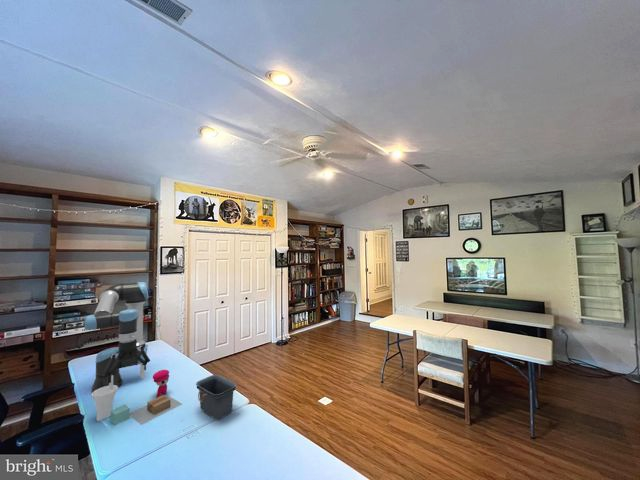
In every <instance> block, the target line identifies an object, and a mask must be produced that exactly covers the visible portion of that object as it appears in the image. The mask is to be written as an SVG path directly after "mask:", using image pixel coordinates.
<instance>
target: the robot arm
mask: <svg viewBox="0 0 640 480" xmlns="http://www.w3.org/2000/svg"><path fill="white" fill-rule="evenodd" d="M148 299H149V291H148V285H147V283H146V282H144V281H141V282H140V281H137V282H127V283H126V282H124V283H116V284H112V285H111V286H108V287H107V288H105V289H104V290H102V292H101V293H100V295H99V298H98V301H99V302H98V304H97V306H96V309H95V311H94V313H93V314H89V315H87V316H86V317H85V319H84V329H85V330H86V331H93V330H94V331H95V330H101V329H107V328H108V329H109V328H116V327H118V346H114V347H110V348H106V349H103V350H102V351H100V352H98V353H97V354H96V357H95V358H96V359H95V379H94V380H93V384H92V386H91V394H92V393H93V392H94V391H95V390H97V389H99V388H102V387H105V386H109V389H111V390H112V389H113V385H116V386H118V388H120V387H122V385H123V384H124V383H123V380H124V379H123V378H122V375H121V373H120V369H123V368H130V367H134V366H138V365H139V371H140V372H139V377H140V378H141V379H144V378H145V371H146V370H147V364H148V363H150V361H151V358H150V357H149V356H148V347H149V345H148V344H146V341H145V340H144V338H143V337H144V304H145V303H146V302H147V300H148ZM117 302H124V304H125V305H126V306H127V309H124V310H121V311H117V312H113V311H114V308H115V304H116V303H117ZM118 388H117V389H118Z"/></svg>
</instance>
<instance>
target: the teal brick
mask: <svg viewBox="0 0 640 480" xmlns="http://www.w3.org/2000/svg"><path fill="white" fill-rule="evenodd" d="M130 410H131V408H130V407H129V406H127V405H126V404H123V405H120V406H118V407H116V408H112V410H111V415H110V416H109V417H110V422H111V423H112V424H113V425H114V426H116V425H118V424H120V423H122V422H124V421H127V420H128V419H130V417H131V416H130V413H131V411H130Z"/></svg>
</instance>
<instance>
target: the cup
mask: <svg viewBox="0 0 640 480" xmlns="http://www.w3.org/2000/svg"><path fill="white" fill-rule="evenodd" d="M117 391H118V386H116V385H113V389H112V390H111V389H109V386H105V387H102V388H99V389H97V390H95V391H94V392H93V393H92V392H91V396H92V397H91V398H92V399H93V401H94V404H95V408H96V419H95V420H96V421H97V422H103V421H104V420H103V419H106V418H108V417H110V415H111V410H113V406H114V405H113V404H114V399H115V397H116V395H117Z"/></svg>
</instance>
